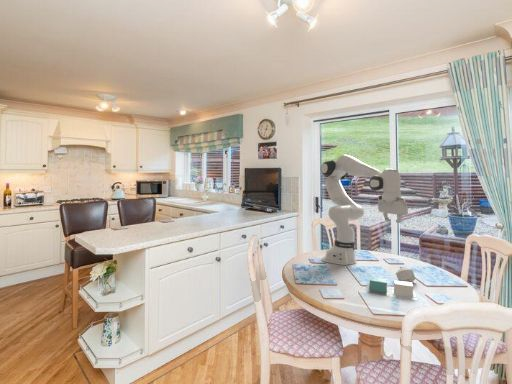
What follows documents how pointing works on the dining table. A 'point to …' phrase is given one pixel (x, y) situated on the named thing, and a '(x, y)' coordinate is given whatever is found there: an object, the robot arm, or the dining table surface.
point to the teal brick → (378, 284)
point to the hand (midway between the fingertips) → (392, 221)
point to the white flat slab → (392, 293)
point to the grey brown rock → (405, 275)
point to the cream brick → (403, 288)
